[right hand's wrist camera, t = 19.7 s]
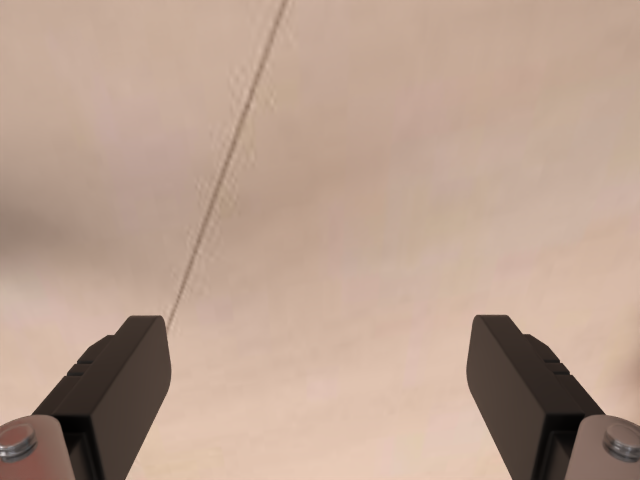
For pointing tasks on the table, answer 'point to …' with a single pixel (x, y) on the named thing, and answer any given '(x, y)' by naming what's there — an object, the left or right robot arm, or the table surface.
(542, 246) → the table surface
